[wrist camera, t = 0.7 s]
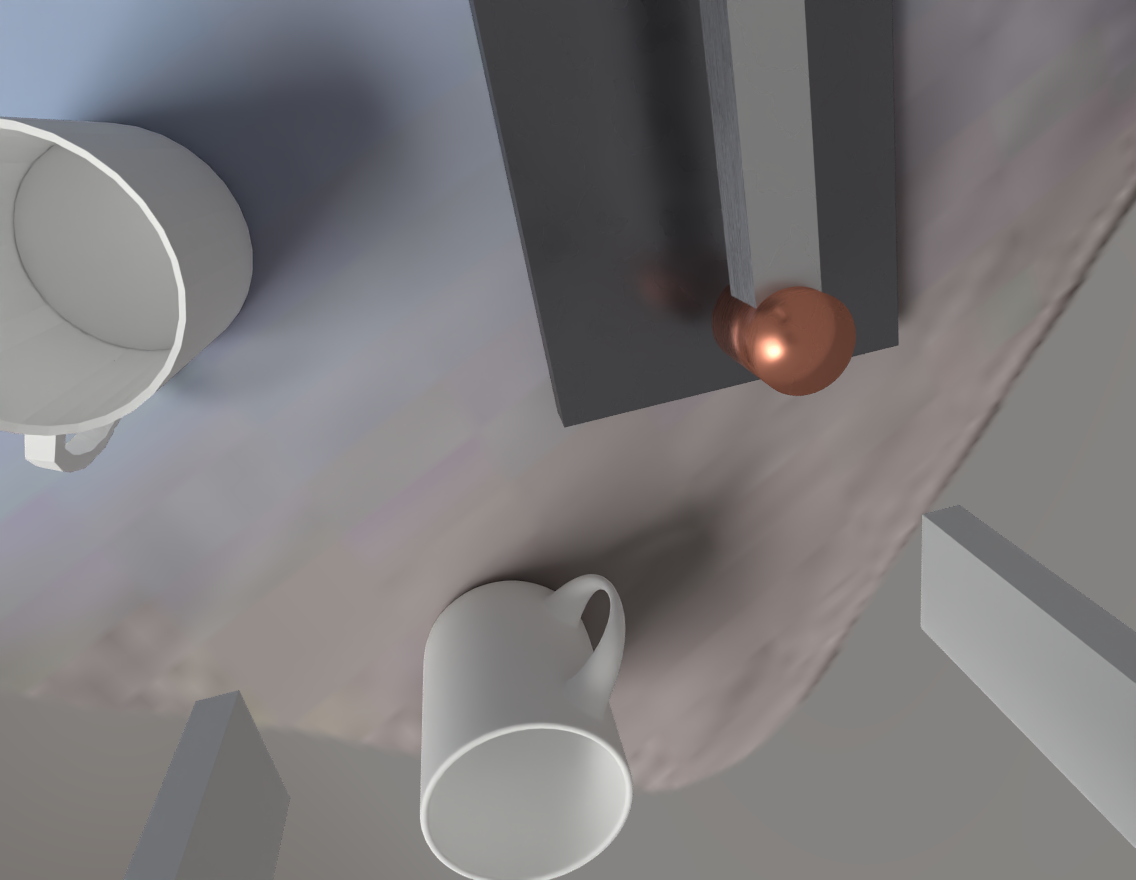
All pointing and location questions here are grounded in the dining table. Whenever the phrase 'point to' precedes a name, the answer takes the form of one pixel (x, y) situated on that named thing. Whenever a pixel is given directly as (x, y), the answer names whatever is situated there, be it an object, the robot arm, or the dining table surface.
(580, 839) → the mug
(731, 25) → the lever
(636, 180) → the press base
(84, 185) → the mug
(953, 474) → the dining table surface
